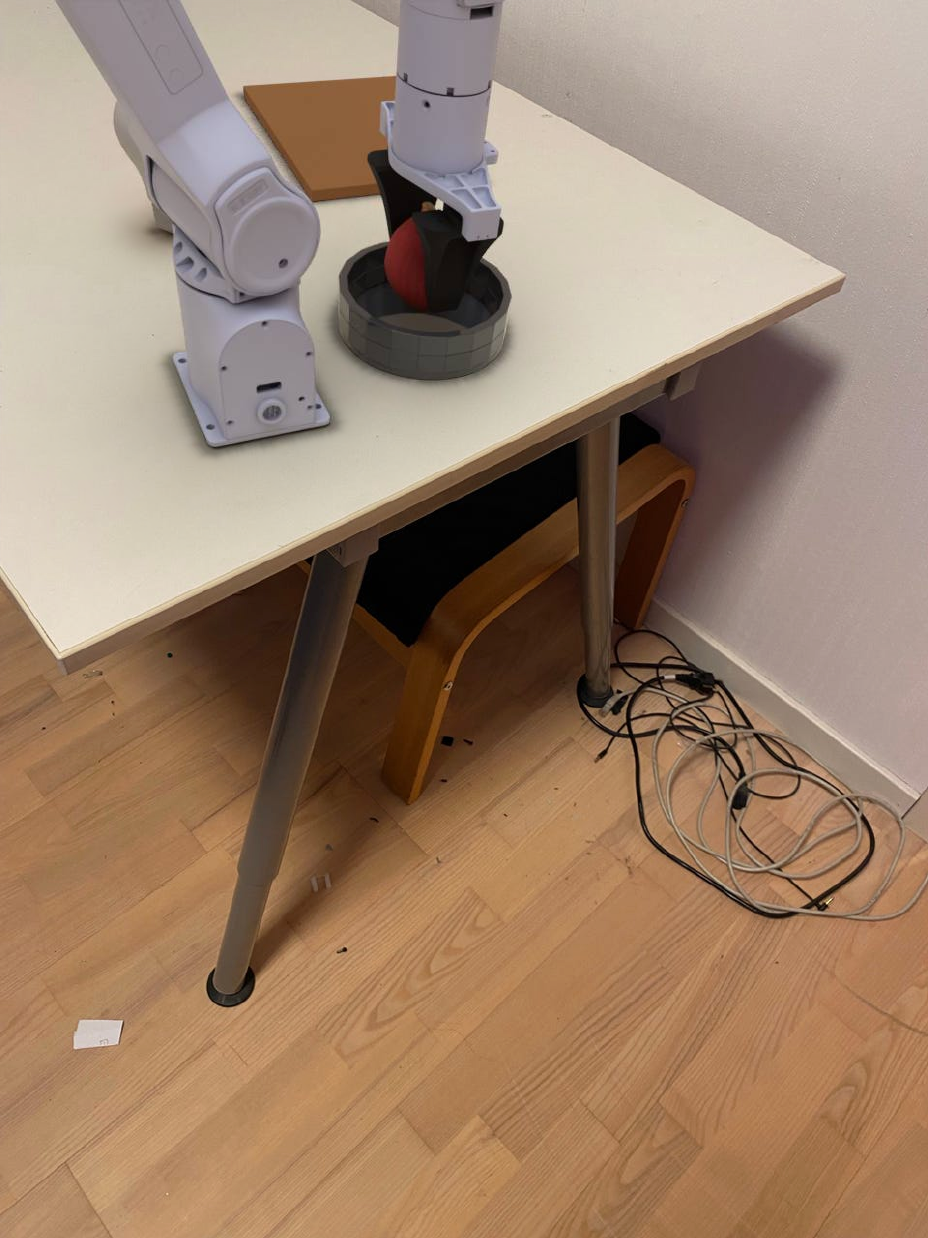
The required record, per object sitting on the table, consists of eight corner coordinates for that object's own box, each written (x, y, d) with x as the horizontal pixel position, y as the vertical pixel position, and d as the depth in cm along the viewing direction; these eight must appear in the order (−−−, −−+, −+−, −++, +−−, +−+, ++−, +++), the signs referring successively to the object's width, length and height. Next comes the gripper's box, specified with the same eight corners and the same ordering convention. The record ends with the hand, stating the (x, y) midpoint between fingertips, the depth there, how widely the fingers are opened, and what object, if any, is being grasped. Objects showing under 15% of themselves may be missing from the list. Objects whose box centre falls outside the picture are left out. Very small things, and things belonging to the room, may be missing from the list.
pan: (531, 363, 67) (540, 321, 64) (374, 393, 62) (376, 349, 60) (462, 271, 73) (467, 230, 70) (315, 293, 69) (315, 250, 66)
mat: (482, 182, 82) (483, 171, 82) (311, 201, 77) (311, 189, 76) (398, 85, 93) (399, 74, 92) (243, 96, 88) (242, 85, 87)
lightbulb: (134, 253, 69) (107, 99, 61) (130, 211, 73) (104, 60, 64) (217, 250, 71) (202, 100, 62) (209, 209, 74) (194, 62, 66)
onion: (465, 295, 68) (479, 190, 62) (457, 340, 65) (471, 233, 59) (388, 282, 68) (395, 175, 62) (376, 326, 65) (381, 218, 58)
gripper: (560, 126, 52) (521, 333, 62) (455, 24, 59) (436, 224, 70) (447, 136, 49) (425, 350, 60) (353, 28, 57) (348, 234, 68)
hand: (425, 283), depth 65 cm, fingers closed on onion, 6 cm apart
